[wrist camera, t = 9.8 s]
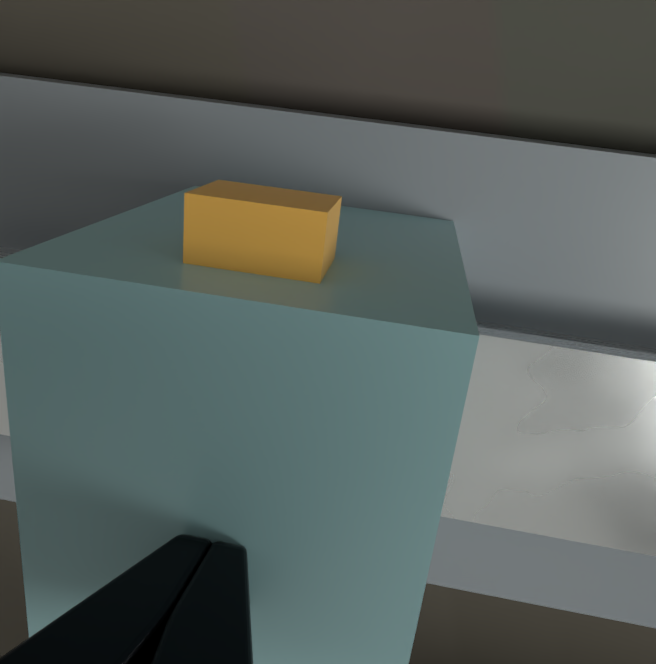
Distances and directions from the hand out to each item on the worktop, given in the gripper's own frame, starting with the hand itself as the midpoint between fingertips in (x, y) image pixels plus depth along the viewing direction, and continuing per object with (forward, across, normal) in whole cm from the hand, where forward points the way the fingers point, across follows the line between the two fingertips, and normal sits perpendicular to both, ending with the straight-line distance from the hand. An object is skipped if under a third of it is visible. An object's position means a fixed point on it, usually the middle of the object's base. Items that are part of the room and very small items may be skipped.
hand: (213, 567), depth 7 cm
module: (+6, 0, 0) cm, 6 cm away
